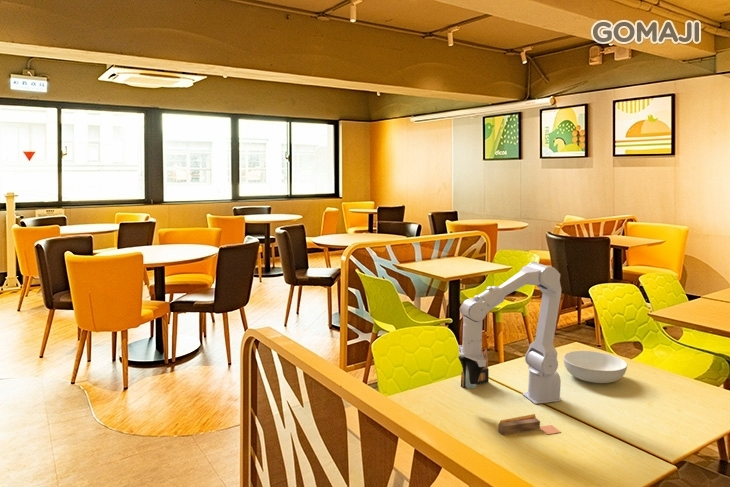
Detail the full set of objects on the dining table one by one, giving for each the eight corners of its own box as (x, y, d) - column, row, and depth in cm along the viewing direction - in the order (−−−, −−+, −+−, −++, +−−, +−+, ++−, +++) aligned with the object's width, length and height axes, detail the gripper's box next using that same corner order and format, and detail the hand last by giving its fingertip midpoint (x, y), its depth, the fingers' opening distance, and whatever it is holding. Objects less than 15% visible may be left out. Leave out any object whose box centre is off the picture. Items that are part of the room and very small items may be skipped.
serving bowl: (637, 390, 190) (638, 370, 189) (574, 390, 190) (575, 370, 189) (611, 368, 211) (612, 350, 210) (554, 367, 211) (555, 349, 210)
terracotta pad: (551, 425, 165) (551, 424, 165) (560, 432, 160) (561, 432, 160) (538, 427, 163) (538, 426, 163) (547, 434, 159) (547, 434, 159)
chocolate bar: (537, 422, 167) (537, 415, 167) (502, 429, 163) (503, 422, 163) (531, 419, 170) (532, 412, 169) (497, 425, 165) (497, 418, 165)
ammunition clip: (463, 388, 191) (464, 354, 190) (460, 386, 193) (461, 352, 191) (488, 382, 196) (489, 349, 195) (485, 380, 198) (486, 347, 196)
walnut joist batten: (535, 426, 164) (536, 418, 164) (539, 429, 162) (540, 421, 162) (498, 431, 161) (498, 423, 160) (501, 434, 159) (502, 426, 159)
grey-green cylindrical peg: (473, 383, 177) (473, 363, 176) (478, 388, 174) (478, 367, 173) (463, 385, 176) (464, 364, 175) (468, 389, 173) (468, 368, 172)
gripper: (450, 332, 178) (449, 374, 180) (470, 347, 165) (469, 391, 167) (470, 330, 180) (469, 371, 182) (492, 345, 166) (491, 389, 168)
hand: (471, 381), depth 175 cm, fingers closed on grey-green cylindrical peg, 3 cm apart
